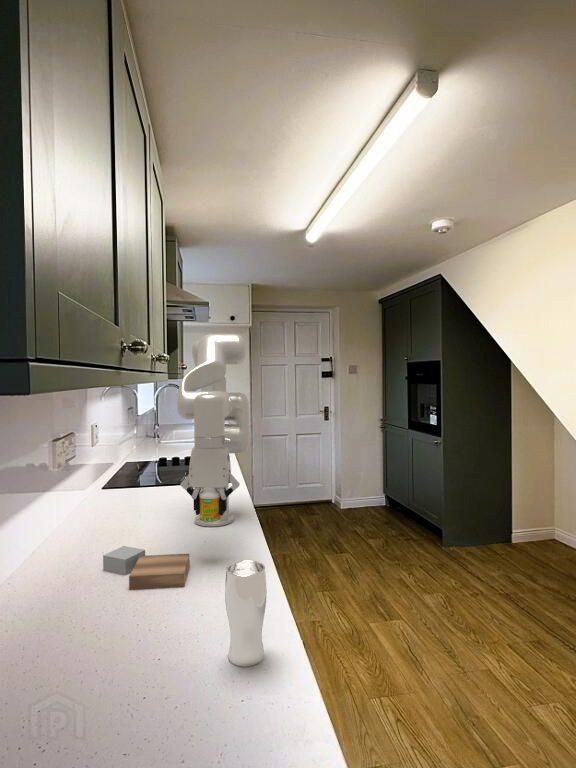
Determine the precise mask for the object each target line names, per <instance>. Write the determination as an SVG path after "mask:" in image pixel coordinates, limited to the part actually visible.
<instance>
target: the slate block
mask: <svg viewBox="0 0 576 768" xmlns="http://www.w3.org/2000/svg"><path fill="white" fill-rule="evenodd" d="M140 556H146V549H143V548H138V547H137V548H136V547H132V546H126V545H123V546H120V547H119V548H116V549H114V550H112V551H110V552H107V553H105V554H103V555H102V564H103V565H102V567H103V568H102V570H103V571H104V572H107V573H114V574H118V575H121V576H127V575H130V574H131V572H132V570H133V568H134V566H135V565H136V563H137V561H138V559H139V557H140Z"/></svg>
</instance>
